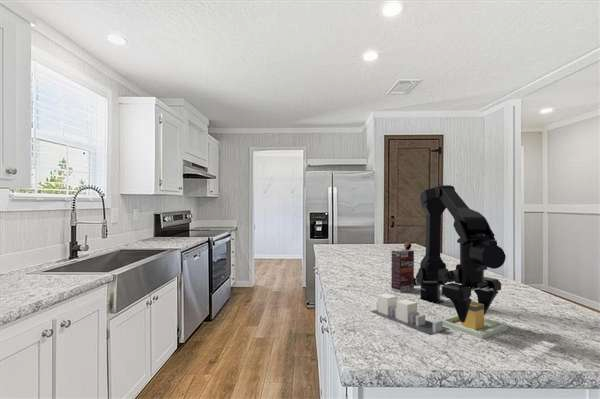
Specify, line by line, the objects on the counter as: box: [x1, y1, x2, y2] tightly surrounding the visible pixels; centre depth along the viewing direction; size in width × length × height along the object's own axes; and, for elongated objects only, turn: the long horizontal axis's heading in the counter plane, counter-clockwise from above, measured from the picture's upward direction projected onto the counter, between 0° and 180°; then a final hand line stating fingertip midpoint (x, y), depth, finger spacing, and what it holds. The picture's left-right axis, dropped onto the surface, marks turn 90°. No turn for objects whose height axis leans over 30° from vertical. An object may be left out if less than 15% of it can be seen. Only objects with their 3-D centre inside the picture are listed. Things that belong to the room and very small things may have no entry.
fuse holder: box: [370, 301, 450, 336], centre depth 95 cm, size 8×22×4 cm, turn 31°
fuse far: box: [377, 293, 398, 315], centre depth 102 cm, size 4×4×5 cm
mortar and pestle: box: [403, 241, 417, 286], centre depth 144 cm, size 7×6×18 cm
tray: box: [438, 313, 510, 340], centre depth 90 cm, size 12×12×2 cm
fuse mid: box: [396, 298, 418, 323], centre depth 96 cm, size 4×4×5 cm
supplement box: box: [390, 248, 415, 293], centre depth 134 cm, size 9×5×16 cm, turn 123°
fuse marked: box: [460, 300, 485, 331], centre depth 90 cm, size 4×4×7 cm
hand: (472, 318), depth 90 cm, fingers open, 9 cm apart
